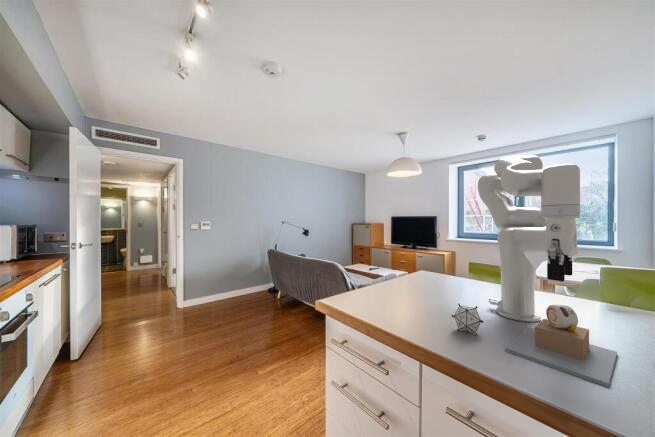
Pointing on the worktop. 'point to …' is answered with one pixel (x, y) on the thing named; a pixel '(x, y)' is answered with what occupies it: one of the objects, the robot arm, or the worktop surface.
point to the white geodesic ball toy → (467, 319)
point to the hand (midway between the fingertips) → (560, 277)
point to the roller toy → (562, 317)
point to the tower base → (565, 363)
